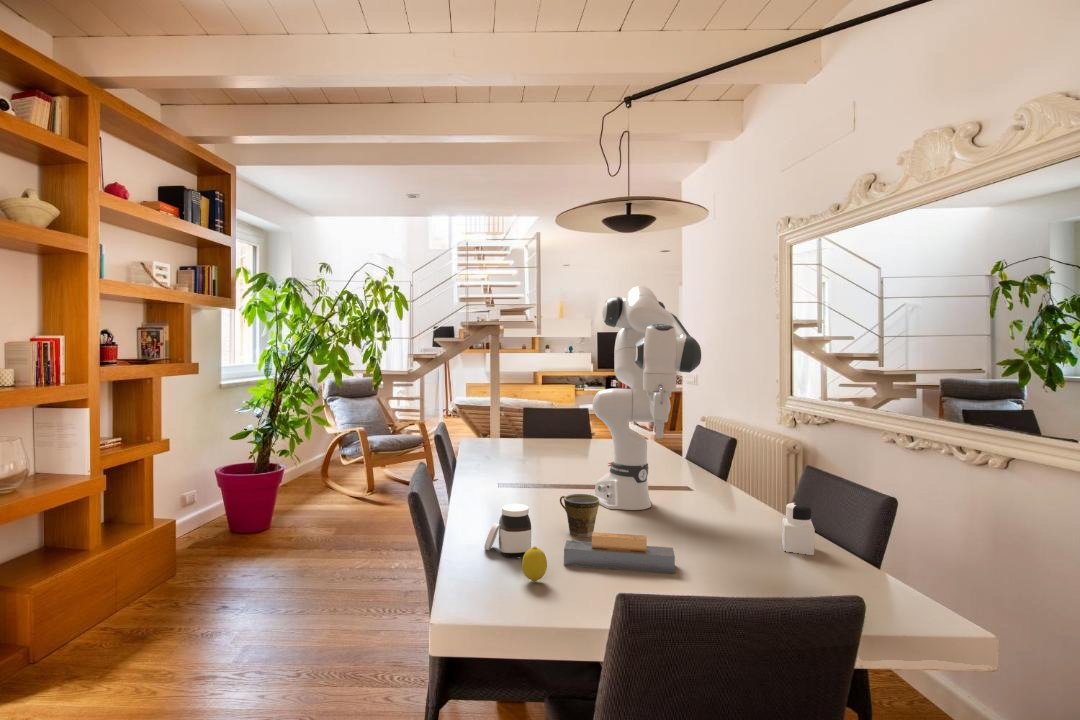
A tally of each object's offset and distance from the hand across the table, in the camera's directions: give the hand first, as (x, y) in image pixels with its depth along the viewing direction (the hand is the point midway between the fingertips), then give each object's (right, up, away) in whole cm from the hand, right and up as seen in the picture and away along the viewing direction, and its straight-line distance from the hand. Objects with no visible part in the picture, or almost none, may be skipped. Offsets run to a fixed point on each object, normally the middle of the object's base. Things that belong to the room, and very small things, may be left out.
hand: (658, 435), depth 153 cm
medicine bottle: (+36, -30, -4) cm, 47 cm away
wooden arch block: (-13, -29, -16) cm, 36 cm away
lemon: (-33, -29, -27) cm, 52 cm away
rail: (-13, -29, -16) cm, 36 cm away
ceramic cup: (-22, -29, +7) cm, 37 cm away
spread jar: (-41, -29, -9) cm, 51 cm away
